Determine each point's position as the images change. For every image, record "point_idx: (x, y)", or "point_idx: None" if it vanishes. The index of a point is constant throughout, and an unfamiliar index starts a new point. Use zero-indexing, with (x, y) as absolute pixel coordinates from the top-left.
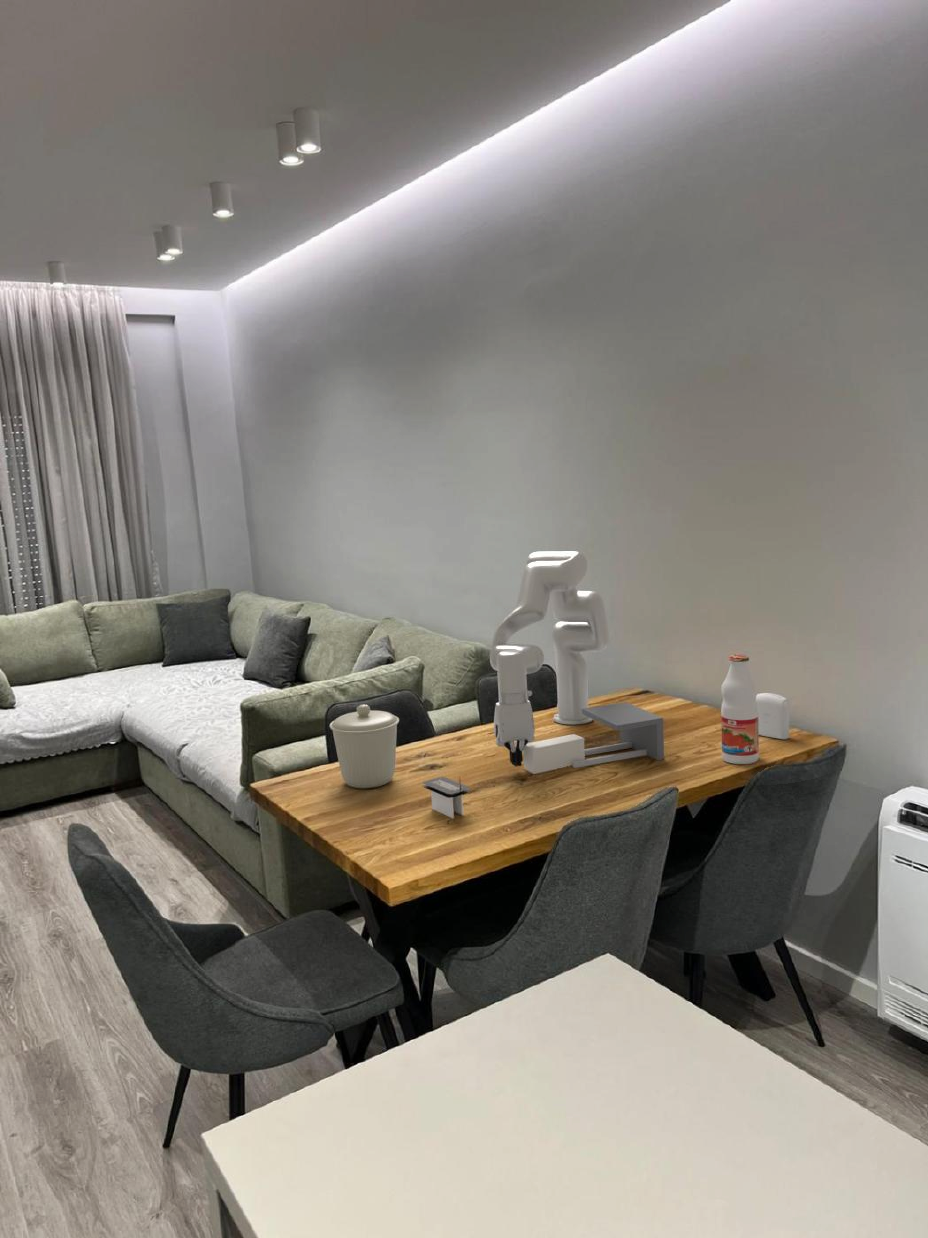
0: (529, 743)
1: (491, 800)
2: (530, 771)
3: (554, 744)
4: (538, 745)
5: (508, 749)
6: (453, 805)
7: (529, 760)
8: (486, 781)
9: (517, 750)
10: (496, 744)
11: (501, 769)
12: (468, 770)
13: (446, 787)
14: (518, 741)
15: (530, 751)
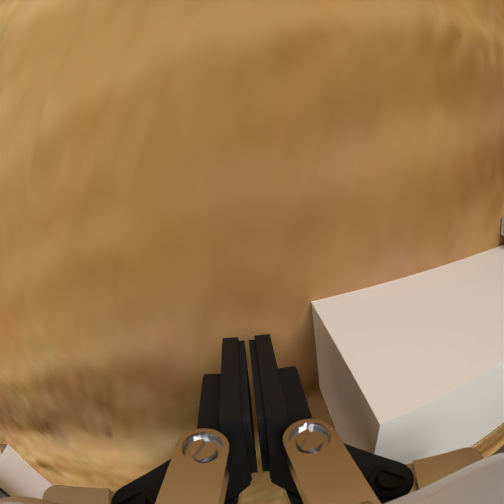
0: (440, 405)
1: (108, 487)
2: (319, 364)
3: (500, 424)
4: (442, 448)
5: (186, 442)
6: (35, 484)
7: (336, 405)
8: (76, 383)
9: (269, 464)
10: (55, 501)
11: (168, 247)
12: (7, 188)
13: (7, 493)
14: (325, 495)
15: None
